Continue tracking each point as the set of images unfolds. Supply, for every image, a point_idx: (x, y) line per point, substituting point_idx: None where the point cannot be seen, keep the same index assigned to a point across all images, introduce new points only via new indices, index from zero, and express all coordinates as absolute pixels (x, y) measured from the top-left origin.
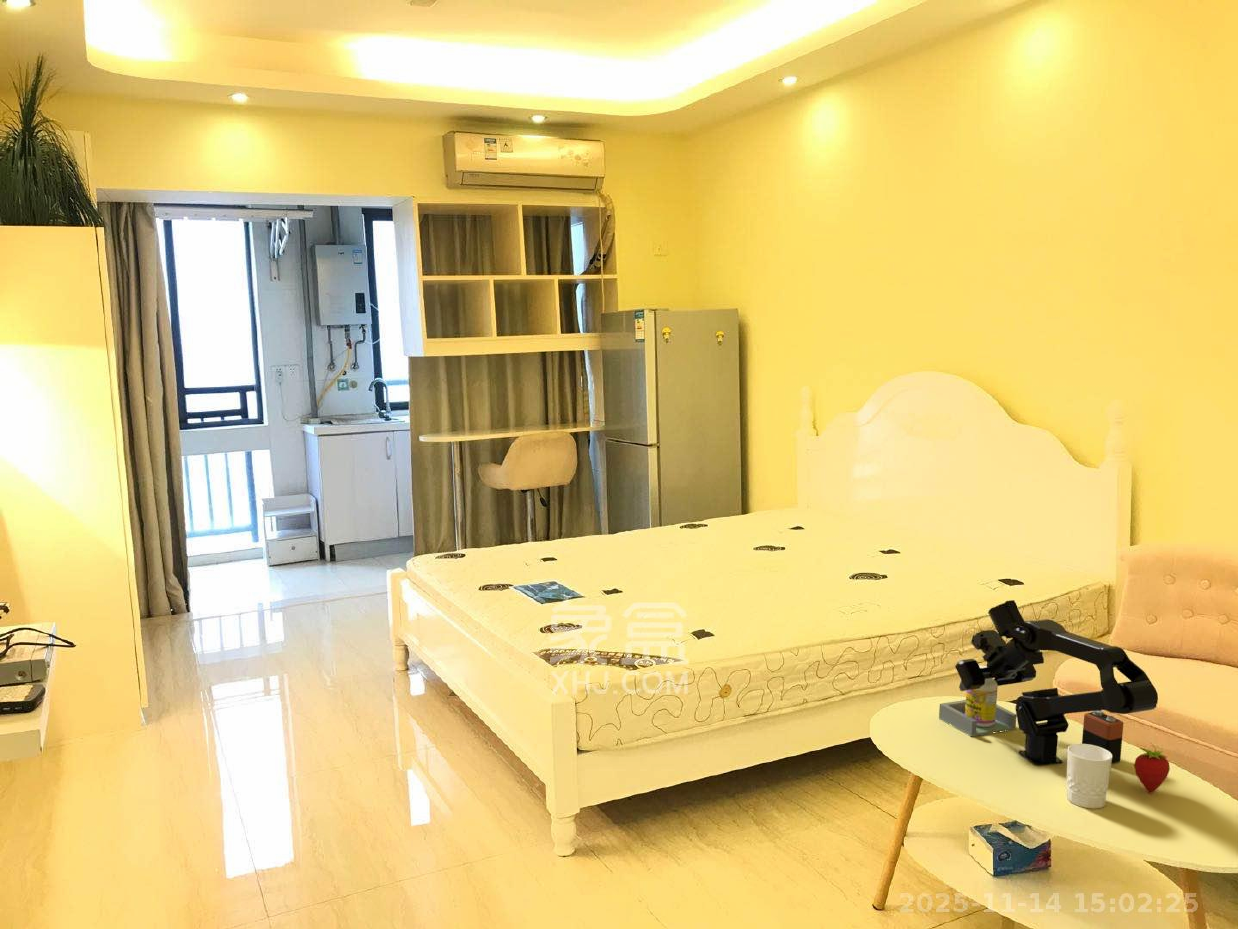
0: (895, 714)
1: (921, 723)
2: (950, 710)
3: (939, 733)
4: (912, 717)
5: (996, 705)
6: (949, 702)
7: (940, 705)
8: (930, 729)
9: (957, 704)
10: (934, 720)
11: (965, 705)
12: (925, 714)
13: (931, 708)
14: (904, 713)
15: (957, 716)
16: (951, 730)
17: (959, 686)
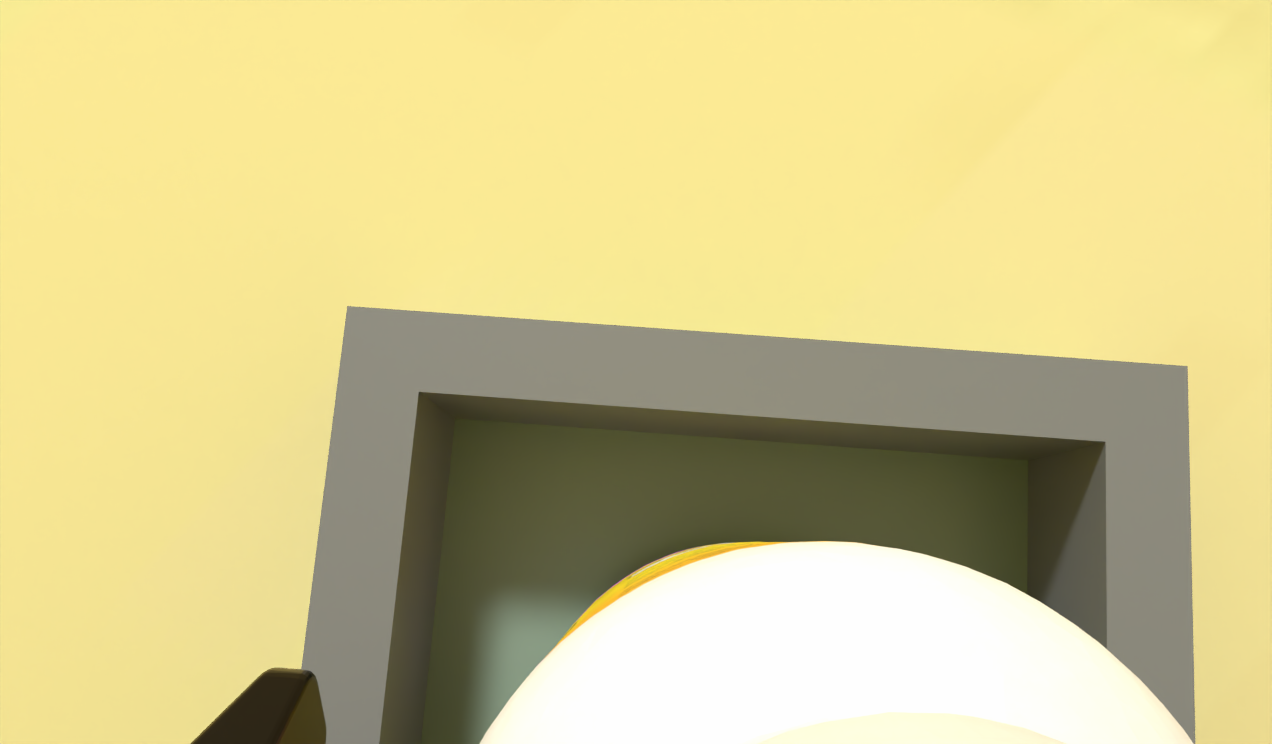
0: (25, 42)
1: (91, 383)
2: (317, 567)
3: (43, 735)
4: (138, 192)
5: None
6: (527, 323)
7: (351, 328)
8: (42, 582)
9: (617, 407)
10: (313, 372)
11: (568, 630)
12: (356, 180)
13: (567, 62)
14: (147, 59)
15: None
16: None
17: (235, 708)
